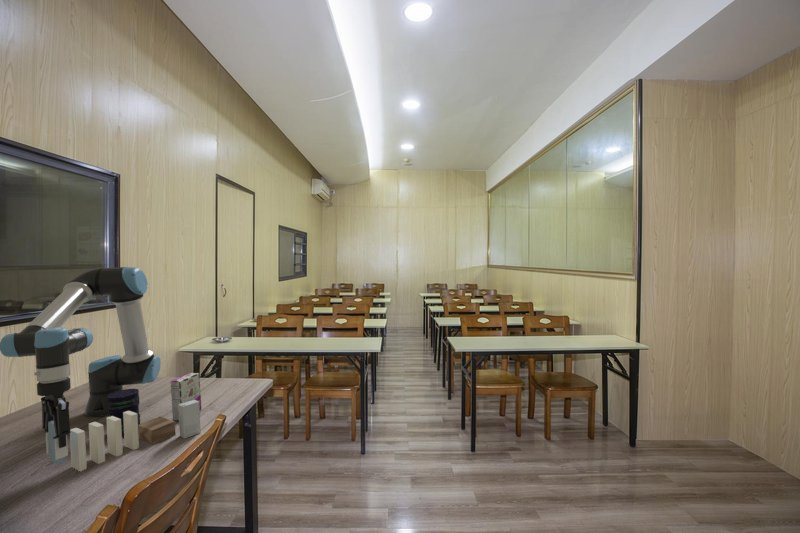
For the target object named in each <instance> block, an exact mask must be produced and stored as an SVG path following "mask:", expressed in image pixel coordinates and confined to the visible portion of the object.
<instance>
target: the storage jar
mask: <svg viewBox="0 0 800 533" xmlns="http://www.w3.org/2000/svg"><path fill="white" fill-rule="evenodd" d="M139 394H140V393H139V389H137V388H128V389H123V390H120V391H116V392H113V393H111V394H109V395H108V411H109V416H108V417H111V416H114V417H117V418H119V419H121V430H122V436H123V437H124V422H123V412H126V411H131V412H134V413H137V417H138V425H139V424H141V413H140V406H139V405H140V395H139Z"/></svg>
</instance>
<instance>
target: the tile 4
mask: <svg viewBox="0 0 800 533" xmlns="http://www.w3.org/2000/svg"><path fill="white" fill-rule="evenodd" d="M123 422H124V436H123V437H124V438H123V439H124V442H123V443H124V447H126V448H129V449H130V450H132V451H133V450H134V451H135V450H136V449H139V448H140V442H139V440H140V439H139V438H138V417H137V413H134V412H131V411H126V412H123Z"/></svg>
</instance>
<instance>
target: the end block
mask: <svg viewBox="0 0 800 533" xmlns="http://www.w3.org/2000/svg"><path fill="white" fill-rule="evenodd" d="M174 436H176V421H175V420H173V419H168V418H166V417H162V416H159V417H156V418H153V419H150V420H148V421H145V422H142V423H141V422H140V424H139V425H138V439H139V440H142V441H144V442H146V443H148V444H151V445H154V444H157V443H160V442H161V441H165V440H166V439H169V438H172V437H174Z"/></svg>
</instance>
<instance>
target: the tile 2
mask: <svg viewBox="0 0 800 533" xmlns="http://www.w3.org/2000/svg"><path fill="white" fill-rule="evenodd" d="M104 429H105V428H104V424H102V423H100V422H97V421H93V422H90V423H89V422H88V437H89V459H91V461H92V460H93V461H92V462H94V463H96V464H98V465H100V464H103V463H105V462H106V451H105V432H104V431H105V430H104Z"/></svg>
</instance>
